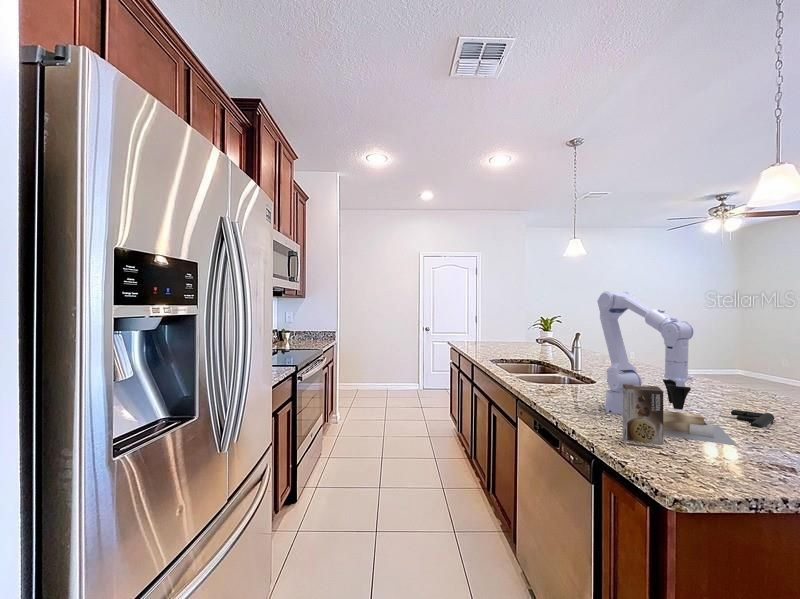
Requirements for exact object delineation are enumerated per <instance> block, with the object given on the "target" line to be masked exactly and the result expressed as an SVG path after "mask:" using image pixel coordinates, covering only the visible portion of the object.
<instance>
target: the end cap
mask: <svg viewBox="0 0 800 599" xmlns="http://www.w3.org/2000/svg"><path fill="white" fill-rule="evenodd" d="M712 425H713V424H712ZM712 425H711V422H710V421H709V420H704V425H701V424H692V423H689V434H690V435H698V436H705V437H713V438H714V427H713V426H712Z"/></svg>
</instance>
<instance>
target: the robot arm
mask: <svg viewBox="0 0 800 599" xmlns="http://www.w3.org/2000/svg"><path fill="white" fill-rule="evenodd" d="M597 304H598V310H599V319H600V323H601V327H602V331H603V336H604V338H605V339H604V340H605V343H606V346H607V352H608V356H609V360H610V363H611V365H610V366H608V368H607V369H606V374H607V378H606V382H607V386H608V387H609V389H606V390H605V405H604V411H605V413H608V414H615V415H621V416H623V384H628V385H642V377H641V375H640V374H639V373H638V371H637V367H636V366H634V365H633V364H632V363H630V362H629V358H628V354H627V349H626V347H625V342H624V338H623V335H622V331H621V328H620V324H619V321H618V320H619V318H620V317H621V316H623V314H624V313H626V311H627V310H630V311H631V312H633V313H635V314H636V315H638V316H641V317H642V318H644V322H645V323H646V324H647V325H648V326H650V327H652V328H653V329H654V330H656V331H658V332H659V333H660V334H661V337H662V338H663V344H664V346H665V347H664V348H665V351H664V352H665V357H664V359H665V360H664V362H665V363H664V375H663V377H664V378H665V379H662V382H663V384H664V386H665V389H666V394H667V398H668V402H669V403H670V404H672V407H673V409H674V410H681V411H682V410H683V409H684V405H685V402H686V398H687V397H688V394H689V393H690V391H691V390H692V387H691V386H686V382H687V381H689V380H691V381H692V380H693V377H692V376H689V375H688V374H689V340H691V339H692V338H693V336H694V328H693V326H692V325H691V324H690V323H689V322H687V321H685V320H684V321H679V320H678V318H677V317H676V316H670V315H669V314H667V313H665V309H663V308H654V309H652V308H651V307H649V306H647V305H646V304H645V303H643V302H642V301H641V300H639V299H638V298H636V297H635V295H633V294H631V293H629V292H628V291H603V292H602V293H601V294H600V295H599V297H598V299H597Z"/></svg>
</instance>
